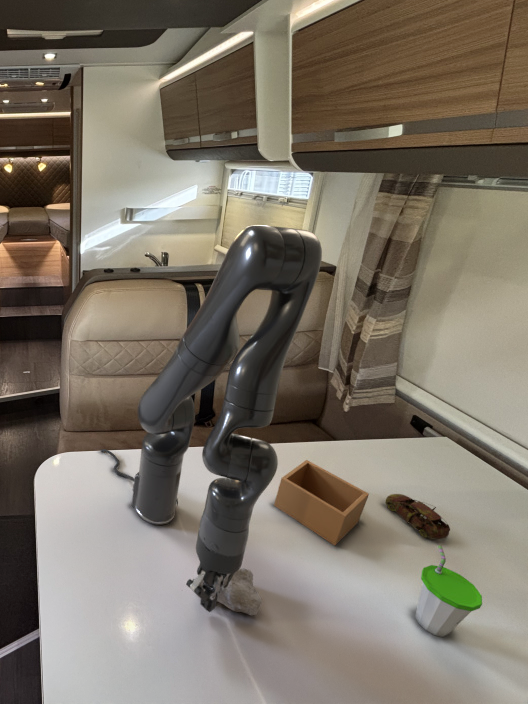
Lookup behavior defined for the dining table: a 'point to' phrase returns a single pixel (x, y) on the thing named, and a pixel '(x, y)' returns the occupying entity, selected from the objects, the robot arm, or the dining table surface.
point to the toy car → (419, 516)
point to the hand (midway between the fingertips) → (207, 606)
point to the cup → (445, 599)
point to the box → (321, 501)
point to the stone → (241, 593)
